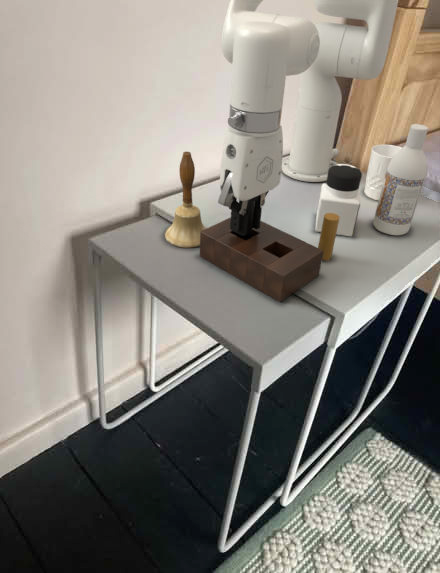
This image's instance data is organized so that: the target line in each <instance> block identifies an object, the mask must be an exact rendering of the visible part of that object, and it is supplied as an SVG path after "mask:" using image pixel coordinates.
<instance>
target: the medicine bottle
mask: <svg viewBox="0 0 440 573" xmlns="http://www.w3.org/2000/svg"><path fill="white" fill-rule="evenodd" d="M362 176H363V173H362V171H361V169H359V168H358V167H356V166H354V165H351V164H348V163H337V164H333V165H332V166H331V167H330V168H329V170H328V176H327V181H325V182H324V183H322V184H321V189H320V194H319V200H318V205H317V209H316V210H317V211H316V217H315V225H314V226H315V227H314V231H315V232H316V233H321V229H322V224H323V219H324V215H325V214H326V213H334V214H337V215H338V216H339V217H340V219H339V224H338V228H337V233H336V236H337V235H338V236H345V237H353V235H354V232H355V228H356V224H357V220H358V215H359V211H360V207H361V195H360V194H361V193H360V185H361V182H362Z"/></svg>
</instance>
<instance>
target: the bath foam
mask: <svg viewBox="0 0 440 573" xmlns="http://www.w3.org/2000/svg"><path fill="white" fill-rule="evenodd" d="M428 131H429V127H428V126H426V125H424V124H420V123H413V124H411V125H410V127H409V132H408V134H407V138H406V140H405V141H406V142H405V145H404V146H403V147H401V148H402V149H401V150H400V151H398V152H397V153H396V154H395V156H394V157H393V158H392V160H391V161H390V163H389V165H388V168H387V171H386V175H385V179H384V182H383V186H382V190H381V194H380V198H379V200H377V201H378V202H377V205H376V209H375V212H374V213H375V214H374V217H373V223H372V224H373V226H374V228H375V229H376V230H377V231H379V232H381V233H383V234H386V235H390V236H403V235H405V234H407V233H408V232H409V231H410V228H411V225H412V222H413V219H414V216H415V213H416V209H417V206H418V203H419V199H420V196H421V193H422V190H423V187H424V184H425V181H426V179H427V178H426V177H427V173H428V162H427V158H426V155H425V152H424V149H423V147H424V144H425V140H426V137H427V134H428Z"/></svg>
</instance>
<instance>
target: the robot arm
mask: <svg viewBox="0 0 440 573" xmlns="http://www.w3.org/2000/svg"><path fill="white" fill-rule="evenodd" d="M263 1H264V0H230V1H229V4H228V7H227V10H226V14H225V17H224V21H223V26H222V29H221V30H222V31H221V38H220V44H221V45H220V46H221V51H222V54H223V57H224V58H225V60H226V61H227V62H228V63H230V64H231V79H230V95H229V96H230V98H229V111H228V112H229V114H228V115H229V116H228V119H227V124H228V129H227V130H226V133H225V137H224V143H223V149H222V154H221V162H220V171H219V189H220V194H219V197H218V201H217V203H218V204H219V205H221V206H223V207H227V208H228V209H229V210H230V217H231V222H230V229H231V230H232V231H234V232H236V233H238V234H240V235H242V236H245V235H246V234H247V226H248V214H247V213H246V209H247V202H248V200H249V199H252V198H255V209H254V218H253V228H254V229H258V228H260V221H262V219H261V218H262V213H263V212H262V211H263V207H264V206H265V204H266V197H267V196H268V194H269V193H270V191H272V190H273V189H275V188H277V187H278V186H279V185H280V182H281V178H282V173H283V174H284V175H286V176H287V177H289V178H291V179H294V180H297V181H301V182H306V183H322V182H326V181H327V176H328V170H329V168H330V167H331V166H333V165H332V164H331V161H332V160H333V159H334V158H336V157H338V156H339V155H340V150H339V149H338V148H334V144H335V139H336V138H335V137H336V133H337V128H338V122H339V119H340V118H339V117H340V111H341V108H342V101H343V97H342V91H341V87H340V85H339V84H338V81H337V79H336V77H341V78H348V79H354V80H355V79H356V80H361V81H371V80H375V79H376V78H378V77H380V74H381V73H382V72H383V69H384V67H385V63H386V60H387V56H388V51H389V48H390V47H389V46H390V42H391V37H392V33H393V28H394V23H395V19H396V14H397V9H398V4H399V0H313V4H314V8H315V10H316V12H318V13H319V14H322V15H325V16H329V17H335V18H343V19H351V20H360V21H365V22H366V24H367V27H366V26H360V25H359V26H358V25H351V24H345V23H338V22H337V23H335V22H315V23H314V22H312V21H311V20H309V19H307V18H304V17H299V16H292V15H284V14H283V15H282V14H278V13H271V12H270V13H269V12H261V11H256V10H257V8H258V7H259V6H260V5H261V3H262V2H263ZM297 75H299V84H298V93H297V100H296V107H295V114H294V122H293V123H294V124H293V128H292V137H291V143H290V144H291V145H290V152H289V158H288V159H286V160H283V156H284V155H283V154H284V136H283V135H284V134H283V126H282V125H281V123H282V113H283V105H284V98H285V97H284V96H285V88H286V80H287V77H288V76H297ZM239 200H240V203H239Z"/></svg>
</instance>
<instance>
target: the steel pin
mask: <svg viewBox="0 0 440 573" xmlns="http://www.w3.org/2000/svg"><path fill="white" fill-rule="evenodd" d="M238 202H239V203H240V200H239V199H238ZM254 209H255V198H252V199H249V200H248V202H247V209H246V213H247V214H248V226H247V234H246V235H245V236H242V235H240V234H238V233H236V236H238V237H240V238H242V239H244V240H245V241H246V240H248V239H250V238H252V228H253V218H254Z"/></svg>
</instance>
